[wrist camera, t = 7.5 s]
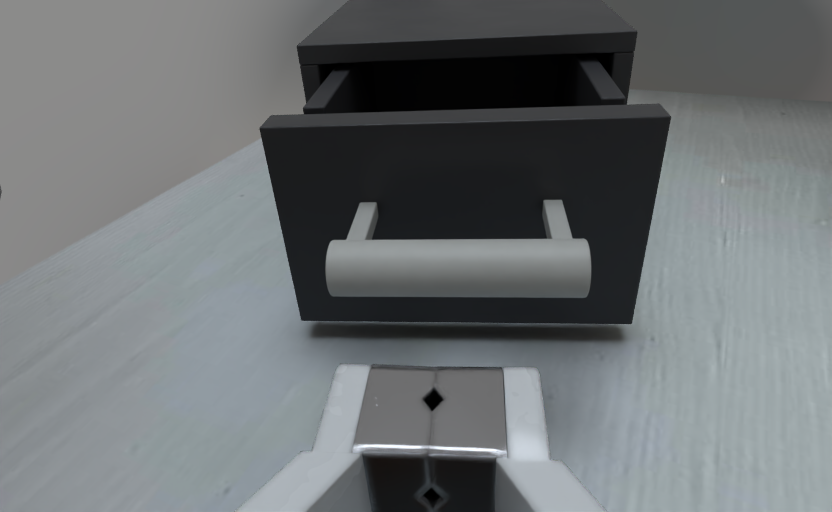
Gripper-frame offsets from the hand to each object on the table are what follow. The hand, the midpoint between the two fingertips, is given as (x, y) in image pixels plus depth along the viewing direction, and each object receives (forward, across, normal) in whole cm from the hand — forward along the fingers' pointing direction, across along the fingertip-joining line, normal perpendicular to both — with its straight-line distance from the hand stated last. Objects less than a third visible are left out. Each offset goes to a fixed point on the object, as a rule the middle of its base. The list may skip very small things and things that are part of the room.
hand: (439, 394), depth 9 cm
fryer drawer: (+15, 0, +7) cm, 17 cm away
